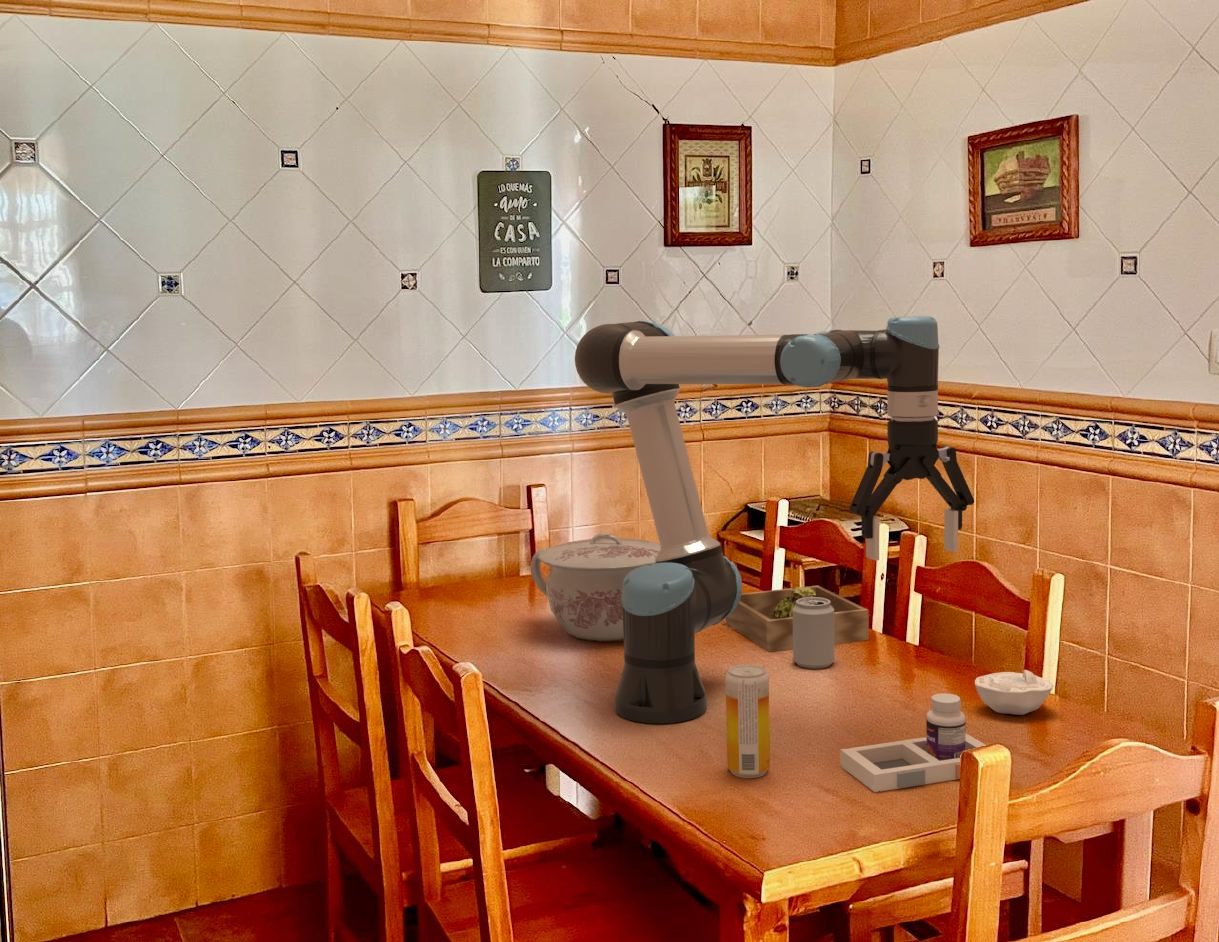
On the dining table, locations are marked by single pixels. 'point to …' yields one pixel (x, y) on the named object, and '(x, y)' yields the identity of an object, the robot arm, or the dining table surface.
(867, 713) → the dining table surface
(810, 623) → the can
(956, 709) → the pill bottle
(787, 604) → the green leafy plant
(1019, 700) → the cell model
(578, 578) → the chamber pot
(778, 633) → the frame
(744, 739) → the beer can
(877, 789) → the socket block
